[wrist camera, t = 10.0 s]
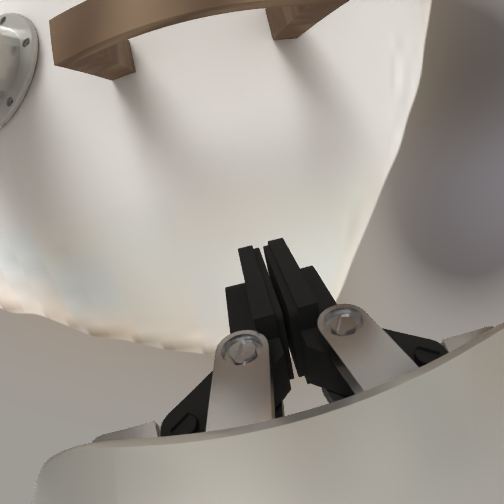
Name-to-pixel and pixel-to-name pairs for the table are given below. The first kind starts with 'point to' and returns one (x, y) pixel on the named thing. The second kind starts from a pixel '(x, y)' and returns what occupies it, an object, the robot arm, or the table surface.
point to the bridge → (158, 27)
